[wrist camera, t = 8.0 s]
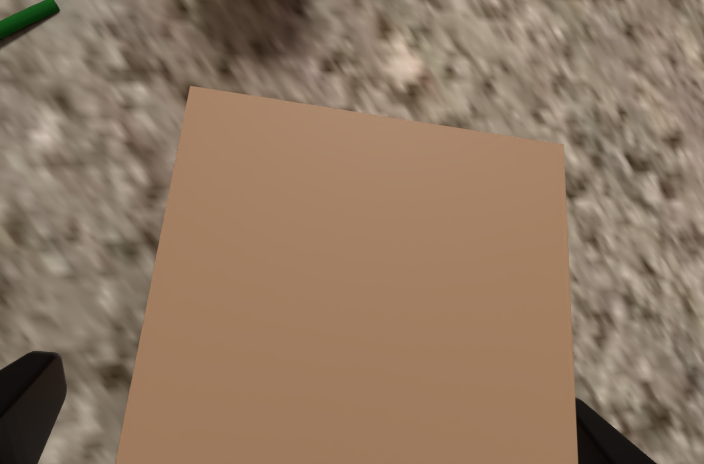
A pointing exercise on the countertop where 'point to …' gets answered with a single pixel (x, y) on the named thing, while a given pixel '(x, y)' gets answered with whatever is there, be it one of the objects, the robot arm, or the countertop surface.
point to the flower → (27, 17)
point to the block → (354, 295)
